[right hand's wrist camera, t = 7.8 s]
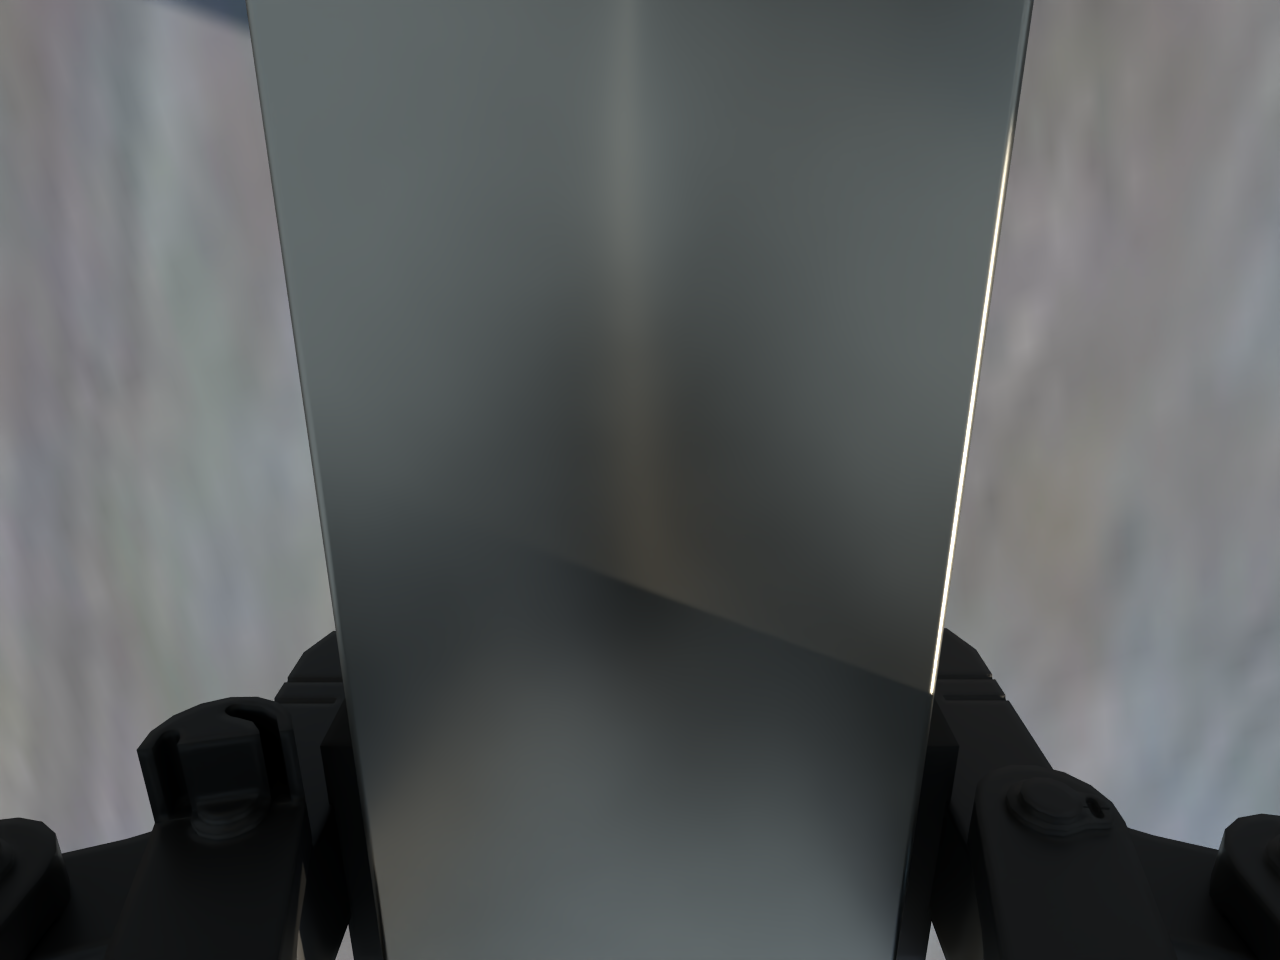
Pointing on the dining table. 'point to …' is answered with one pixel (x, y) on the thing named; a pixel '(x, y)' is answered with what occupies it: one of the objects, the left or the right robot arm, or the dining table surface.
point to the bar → (639, 446)
